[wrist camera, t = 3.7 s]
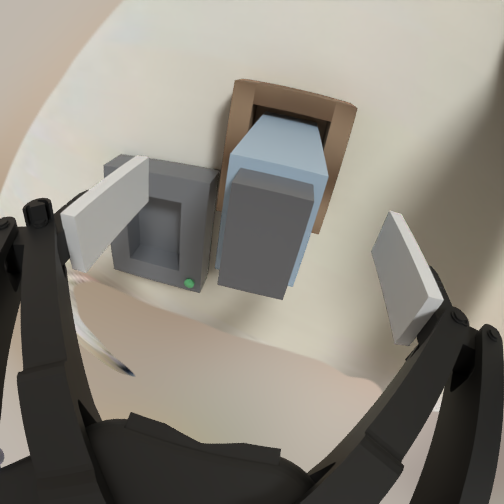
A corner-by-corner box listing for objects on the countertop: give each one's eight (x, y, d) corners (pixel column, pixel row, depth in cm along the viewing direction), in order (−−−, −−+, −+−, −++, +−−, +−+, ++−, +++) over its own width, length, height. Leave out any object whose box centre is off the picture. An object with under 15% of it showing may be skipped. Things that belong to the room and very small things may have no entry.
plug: (265, 111, 21) (219, 166, 10) (316, 122, 21) (331, 192, 10) (252, 179, 25) (206, 289, 14) (299, 190, 25) (290, 309, 14)
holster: (243, 78, 20) (234, 80, 18) (350, 103, 20) (357, 108, 18) (224, 195, 26) (215, 210, 24) (317, 216, 26) (318, 234, 24)
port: (120, 154, 25) (101, 166, 23) (219, 170, 25) (208, 185, 22) (126, 253, 33) (113, 270, 30) (207, 274, 32) (199, 294, 30)
